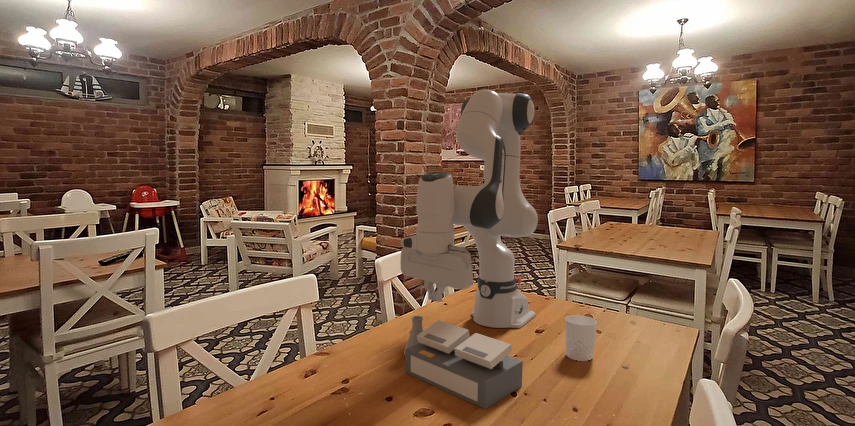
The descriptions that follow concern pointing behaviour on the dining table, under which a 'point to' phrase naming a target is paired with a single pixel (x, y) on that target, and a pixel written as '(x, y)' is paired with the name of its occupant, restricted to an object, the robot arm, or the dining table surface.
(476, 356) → the switch
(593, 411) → the dining table surface
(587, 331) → the white cup
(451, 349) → the switch
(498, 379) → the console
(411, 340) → the flask
